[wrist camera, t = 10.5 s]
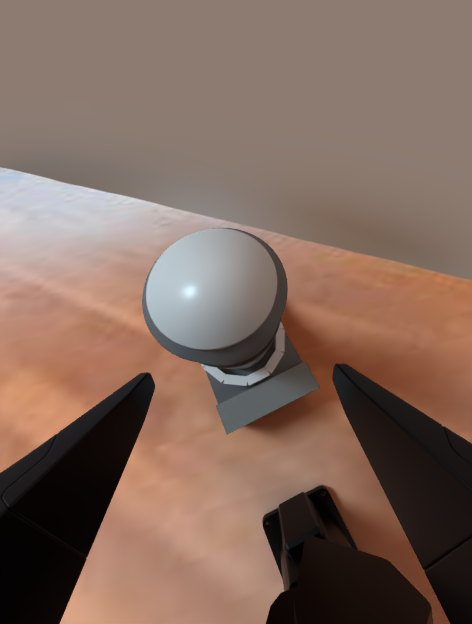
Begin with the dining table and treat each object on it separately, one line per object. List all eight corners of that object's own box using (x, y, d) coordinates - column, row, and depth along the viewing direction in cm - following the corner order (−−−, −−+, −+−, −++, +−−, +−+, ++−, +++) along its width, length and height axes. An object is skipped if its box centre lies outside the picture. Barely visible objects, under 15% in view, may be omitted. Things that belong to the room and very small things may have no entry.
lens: (279, 354, 18) (327, 315, 6) (227, 380, 17) (157, 398, 5) (253, 305, 20) (246, 198, 8) (205, 328, 19) (119, 256, 7)
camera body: (307, 384, 19) (322, 387, 15) (232, 422, 19) (225, 436, 15) (257, 294, 23) (256, 277, 19) (194, 324, 23) (180, 313, 19)
